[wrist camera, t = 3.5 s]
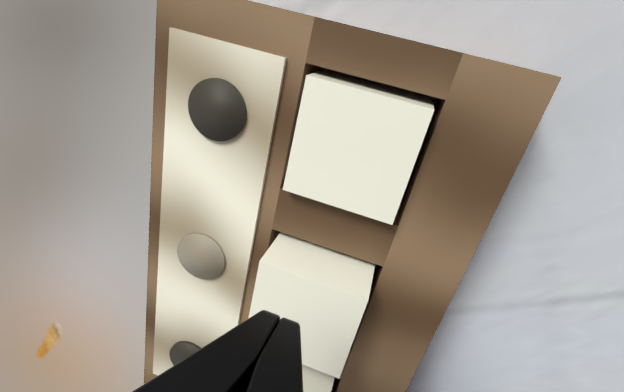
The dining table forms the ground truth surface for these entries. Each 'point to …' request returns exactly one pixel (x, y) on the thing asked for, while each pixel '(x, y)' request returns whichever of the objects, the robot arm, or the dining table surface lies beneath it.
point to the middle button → (314, 297)
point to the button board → (304, 211)
